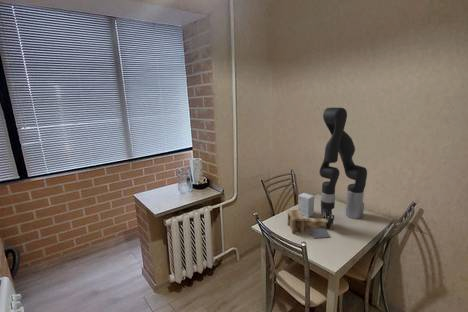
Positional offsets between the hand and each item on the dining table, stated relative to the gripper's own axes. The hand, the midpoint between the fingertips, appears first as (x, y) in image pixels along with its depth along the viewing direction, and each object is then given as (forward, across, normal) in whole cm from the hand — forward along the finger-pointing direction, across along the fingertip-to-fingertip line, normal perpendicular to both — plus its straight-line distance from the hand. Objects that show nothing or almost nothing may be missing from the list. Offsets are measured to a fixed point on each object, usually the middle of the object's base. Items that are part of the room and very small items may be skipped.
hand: (326, 225), depth 148 cm
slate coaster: (0, -7, +7) cm, 10 cm away
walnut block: (+1, 0, +19) cm, 19 cm away
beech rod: (+1, 0, +5) cm, 5 cm away
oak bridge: (0, 0, +19) cm, 19 cm away
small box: (+1, +17, +7) cm, 18 cm away
